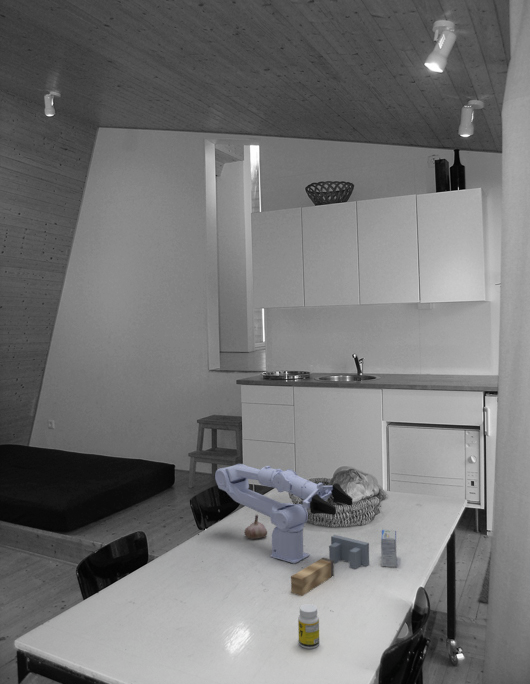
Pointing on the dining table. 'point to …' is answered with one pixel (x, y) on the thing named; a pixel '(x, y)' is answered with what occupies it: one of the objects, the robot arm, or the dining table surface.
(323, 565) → the rail
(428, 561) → the dining table surface
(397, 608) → the dining table surface
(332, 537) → the grey stepped block
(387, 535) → the medicine box
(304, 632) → the supplement bottle
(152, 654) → the dining table surface
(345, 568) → the dining table surface
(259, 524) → the garlic bulb
